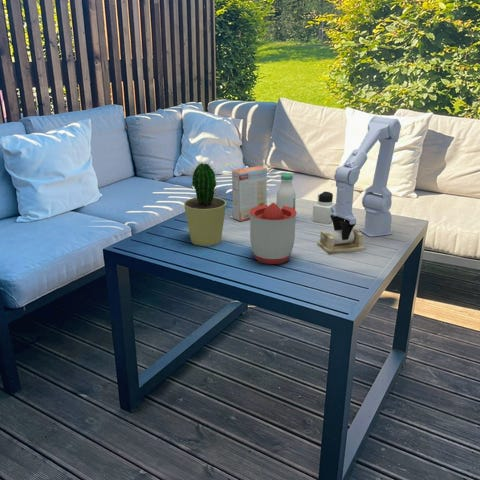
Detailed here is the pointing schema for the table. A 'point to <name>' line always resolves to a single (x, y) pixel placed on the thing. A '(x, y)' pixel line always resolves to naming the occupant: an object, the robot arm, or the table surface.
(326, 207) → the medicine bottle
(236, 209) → the cracker box
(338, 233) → the roll
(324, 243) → the beige wooden frame
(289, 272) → the table surface
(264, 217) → the citrus juicer
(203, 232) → the potted cactus
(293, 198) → the milk bottle
